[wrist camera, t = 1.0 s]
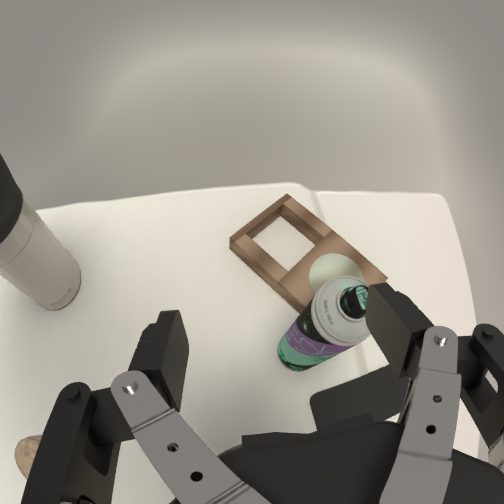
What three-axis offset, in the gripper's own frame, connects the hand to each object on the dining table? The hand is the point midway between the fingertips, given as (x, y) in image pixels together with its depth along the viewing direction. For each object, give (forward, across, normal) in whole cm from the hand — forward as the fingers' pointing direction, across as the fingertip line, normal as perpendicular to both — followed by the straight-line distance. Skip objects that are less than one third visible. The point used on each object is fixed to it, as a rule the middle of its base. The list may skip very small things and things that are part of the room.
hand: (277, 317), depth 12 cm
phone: (+12, -12, +26) cm, 31 cm away
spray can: (+18, -4, +19) cm, 27 cm away
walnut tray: (+28, -8, +12) cm, 31 cm away
